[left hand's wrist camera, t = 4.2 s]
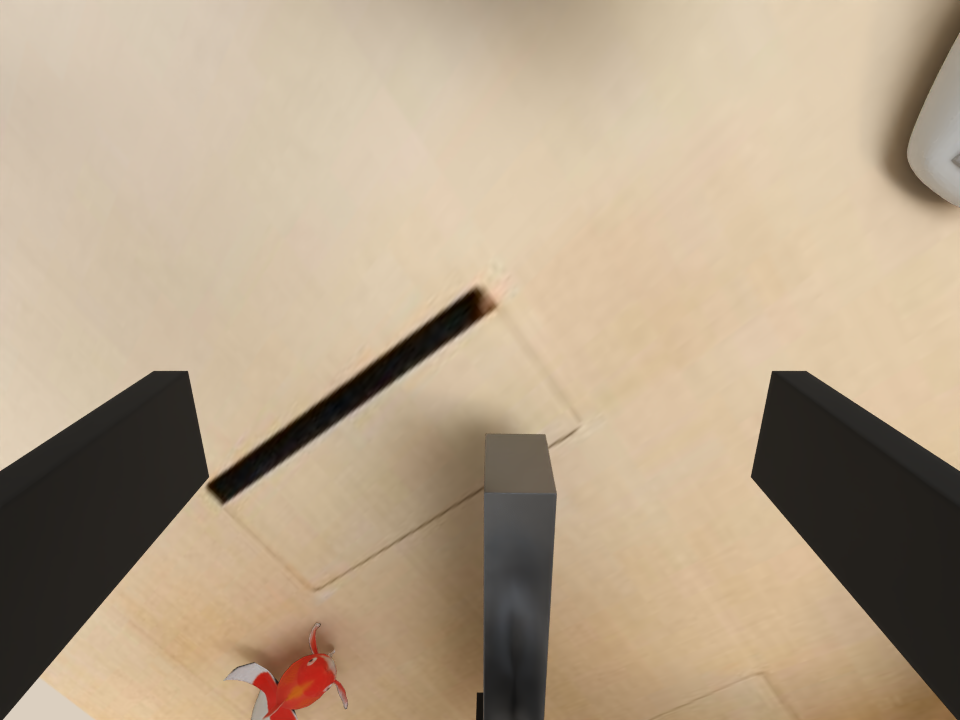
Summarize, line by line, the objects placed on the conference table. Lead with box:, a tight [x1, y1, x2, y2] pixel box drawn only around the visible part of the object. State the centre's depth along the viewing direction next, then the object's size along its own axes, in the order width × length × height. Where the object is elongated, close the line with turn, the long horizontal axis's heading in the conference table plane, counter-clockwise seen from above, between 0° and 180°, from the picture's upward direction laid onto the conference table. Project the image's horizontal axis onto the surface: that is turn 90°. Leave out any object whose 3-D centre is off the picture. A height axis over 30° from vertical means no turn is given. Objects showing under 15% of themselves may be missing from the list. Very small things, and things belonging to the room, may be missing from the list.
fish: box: [223, 623, 348, 720], centre depth 55 cm, size 11×16×10 cm
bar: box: [483, 434, 557, 720], centre depth 46 cm, size 33×5×8 cm, turn 0°
